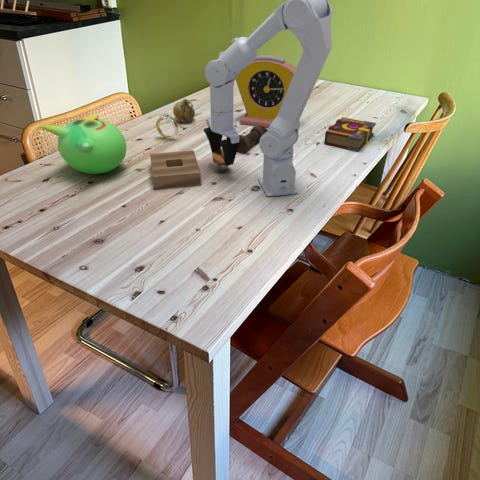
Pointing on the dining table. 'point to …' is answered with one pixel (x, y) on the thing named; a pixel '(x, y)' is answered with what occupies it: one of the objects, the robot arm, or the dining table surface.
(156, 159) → the block
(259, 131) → the bolt
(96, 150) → the toy bird
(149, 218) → the dining table surface
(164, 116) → the ring
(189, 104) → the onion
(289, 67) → the yellow mantel clock
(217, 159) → the orange short cylinder
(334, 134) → the decorative book
